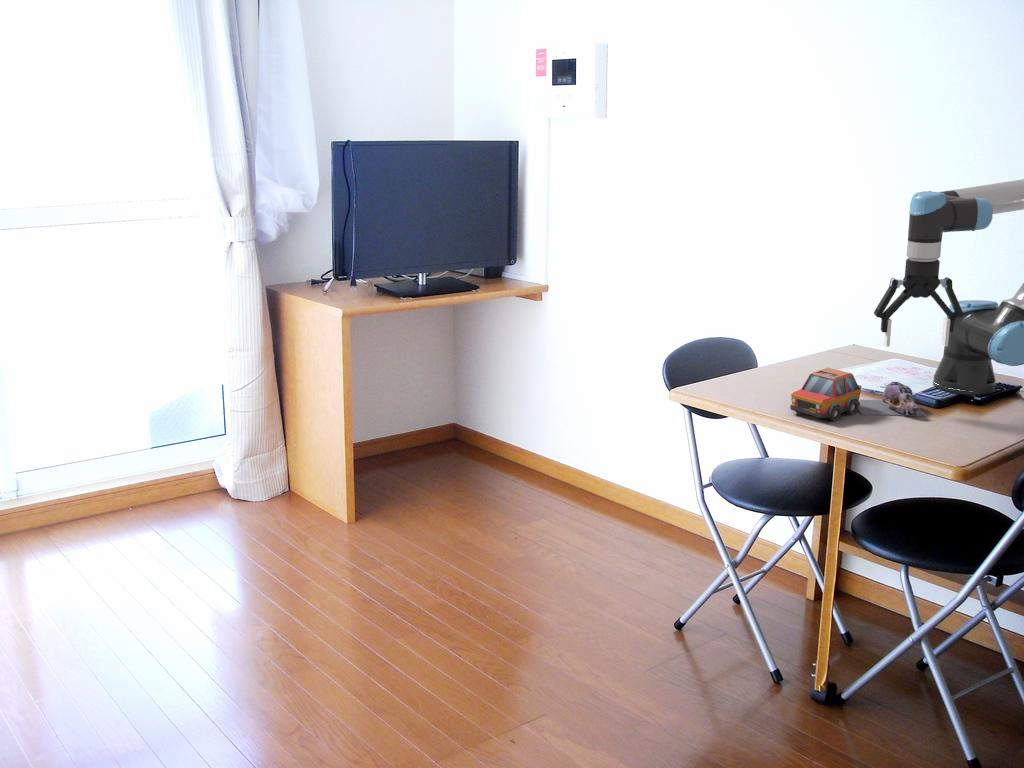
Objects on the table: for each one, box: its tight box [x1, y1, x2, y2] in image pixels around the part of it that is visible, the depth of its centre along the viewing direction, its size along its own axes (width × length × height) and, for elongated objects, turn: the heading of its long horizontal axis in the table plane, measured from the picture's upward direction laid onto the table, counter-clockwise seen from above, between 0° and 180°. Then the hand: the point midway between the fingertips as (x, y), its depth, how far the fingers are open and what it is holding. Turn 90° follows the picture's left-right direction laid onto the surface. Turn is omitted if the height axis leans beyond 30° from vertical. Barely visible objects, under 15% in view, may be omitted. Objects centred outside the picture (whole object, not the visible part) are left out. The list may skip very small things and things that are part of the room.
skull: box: [881, 381, 920, 417], centre depth 256 cm, size 12×8×6 cm, turn 1°
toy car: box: [789, 367, 863, 422], centre depth 256 cm, size 12×17×10 cm
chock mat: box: [857, 399, 926, 417], centre depth 260 cm, size 15×12×1 cm
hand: (915, 345), depth 254 cm, fingers open, 13 cm apart
